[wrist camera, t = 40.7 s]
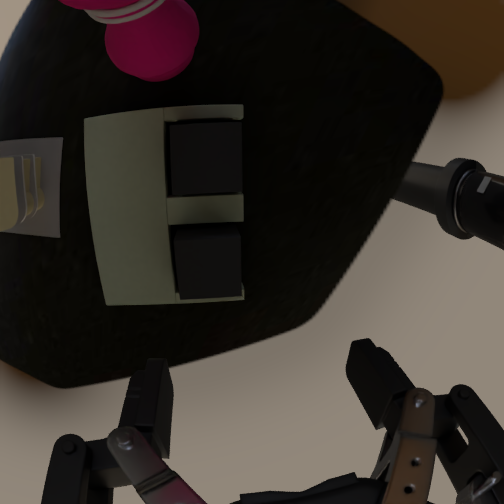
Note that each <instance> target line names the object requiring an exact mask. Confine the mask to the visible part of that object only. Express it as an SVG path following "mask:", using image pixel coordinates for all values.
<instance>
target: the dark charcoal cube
mask: <svg viewBox="0 0 504 504" xmlns="http://www.w3.org/2000/svg"><path fill="white" fill-rule="evenodd" d="M170 159H171V181H172V195H183V194H199V193H219V192H242V191H243V185H242V122H218V123H194V124H179V125H170Z"/></svg>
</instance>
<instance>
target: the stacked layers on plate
mask: <svg viewBox="0 0 504 504" xmlns="http://www.w3.org/2000/svg"><path fill="white" fill-rule="evenodd" d="M62 144H63V137H58V138H35V139H20V140H9V141H0V232H10V233H20V234H29V235H38V236H47V237H57V238H60V221H59V193H60V169H61V155H62Z"/></svg>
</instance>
